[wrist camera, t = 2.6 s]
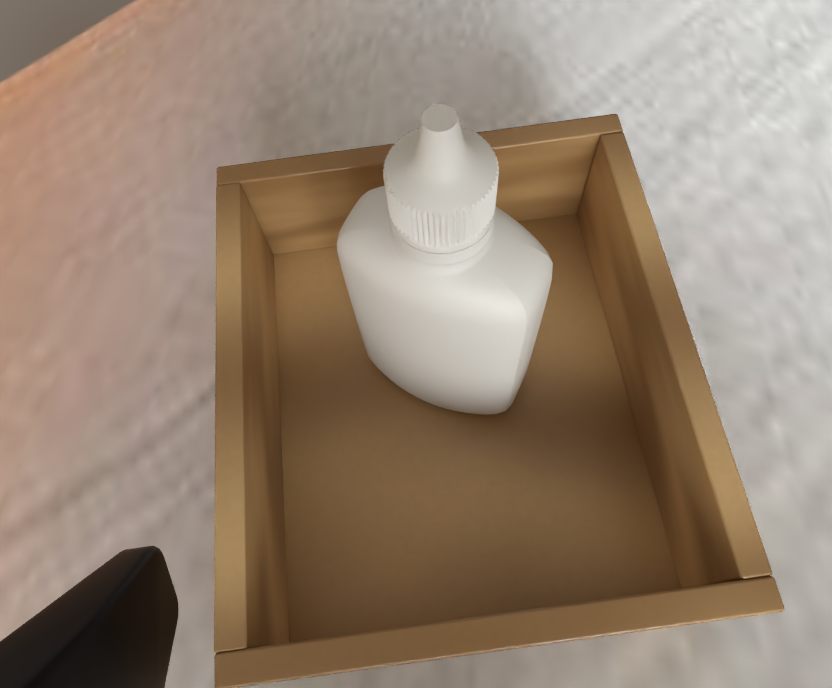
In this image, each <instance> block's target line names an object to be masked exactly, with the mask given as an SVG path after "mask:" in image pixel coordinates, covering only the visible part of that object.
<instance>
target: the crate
mask: <svg viewBox="0 0 832 688" xmlns="http://www.w3.org/2000/svg"><path fill="white" fill-rule="evenodd" d="M622 131H623V130H622V127H621V124H620V121H619V118H618V115H617V114H610V115H603V116H596V117H588V118H581V119H573V120H566V121H558V122H551V123H544V124H536V125H529V126H521V127H514V128H506V129H499V130H491V131H484V132H477V134H478V135H480V136H482V138H483V139H485V140H486V142H487V143H489V144H490V146H491V147H492V148H493V151H494V152H495V156H496V157H497V161H498V166H499V176H498V186H497V196H496V205H495V206H496V207H498V208H499V209H501V210H502V211H504V212H505V213H507V214H508V215H509V216H510V217H512V218H513V219H514V220H516V221H517V222H518V223H519V224H521V225H522V226H523V227H524V228H525V229H526V230H527V231H528V232H530V233H531V234H532V235H533V236H534V237H535V238H536V239H537V240H538V241H539V243H540V244H541V245H542V246H543V247H544V248H545V250H546V251H547V252H548V254H549V256H550V258H551V260H552V263H553V269H552V281H551V285H550V289H549V294H548V298H547V302H546V305H545V309H544V312H543V316H542V320H541V323H540V327H539V331H538V334H537V338H536V341H535V345H534V348H533V352H532V355H531V359H530V362H529V366H528V369H527V372H526V374H525V377H524V379H523V382H522V384H521V386H520V388H519V391H518V393H517V395H516V397H515V399H514V401H513V403H512V405H511V406H510V407H509V408H508V409H507V410H506V411H504V412H501V413H498V414H488V415H485V414H471V413H464V412H458V411H453V410H449V409H445V408H442V407H439V406H436V405H433V404H430V403H428V402H425V401H423V400H421V399H419V398H417V397H415V396H413V395H412V394H410V393H408V392H407V391H405V390H403V389H402V388H401V387H399V386H398V385H396V384H395V383H394V382H393V381H391V380H390V379H389V378H388V377H387V376H386V375H384V374H383V373H382V372H381V371H380V370H379V369H378V368H377V367H376V366H375V364H374V363H373V362H372V361H371V359H370V358H369V357H368V354H367V352H366V349H365V346H364V343H363V340H362V336H361V333H360V330H359V327H358V323H357V320H356V317H355V313H354V310H353V307H352V303H351V300H350V297H349V293H348V290H347V287H346V283H345V280H344V276H343V273H342V269H341V265H340V261H339V257H338V253H337V240H338V235H339V232H340V230H341V228H342V226H343V224H344V222H345V220H346V219H347V217H348V215H349V214H350V212H351V210H352V209H353V207H354V206H355V204H356V203H357V202H358V200H359V199H360V198H361V196H363V195H364V194H365V193H366V192H368V191H369V190H372V189H375V188H378V187H381V186H385V185H384V178H383V169H384V166H383V165H384V164H385V160H386V156H387V155H388V154H389V151H390V150H391V147H392V146H394V145H395V144H387V145H380V146H372V147H365V148H358V149H350V150H343V151H335V152H328V153H320V154H313V155H305V156H298V157H291V158H283V159H276V160H268V161H261V162H253V163H246V164H238V165H231V166H224V167H218V168H217V188H216V394H215V606H214V651H215V652H216V654H215V688H235V687H242V686H250V685H257V684H264V683H271V682H278V681H286V680H293V679H300V678H307V677H314V676H322V675H329V674H336V673H343V672H350V671H358V670H365V669H372V668H379V667H386V666H394V665H401V664H408V663H415V662H423V661H430V660H437V659H444V658H451V657H459V656H466V655H473V654H480V653H487V652H495V651H502V650H509V649H516V648H523V647H531V646H538V645H545V644H552V643H559V642H567V641H574V640H581V639H588V638H595V637H603V636H610V635H617V634H624V633H631V632H639V631H646V630H653V629H660V628H668V627H675V626H682V625H689V624H696V623H704V622H711V621H718V620H725V619H732V618H740V617H747V616H754V615H761V614H768V613H776V612H782V611H784V605H783V602H782V599H781V596H780V593H779V590H778V588H777V585H776V582H775V579H774V577H772V576H770V575H771V574H772V571H771V568H770V565H769V562H768V559H767V556H766V553H765V550H764V547H763V544H762V541H761V538H760V535H759V532H758V529H757V526H756V523H755V520H754V517H753V514H752V511H751V508H750V506H749V503H748V500H747V497H746V494H745V491H744V488H743V485H742V482H741V479H740V476H739V473H738V470H737V467H736V464H735V461H734V458H733V455H732V452H731V449H730V446H729V443H728V440H727V438H726V435H725V432H724V429H723V426H722V423H721V420H720V417H719V414H718V411H717V408H716V405H715V402H714V399H713V396H712V393H711V390H710V387H709V384H708V381H707V378H706V375H705V372H704V370H703V367H702V364H701V361H700V358H699V355H698V352H697V349H696V346H695V343H694V340H693V337H692V334H691V331H690V328H689V325H688V322H687V319H686V316H685V313H684V310H683V307H682V304H681V301H680V299H679V296H678V293H677V290H676V287H675V284H674V281H673V278H672V275H671V272H670V269H669V266H668V263H667V260H666V257H665V254H664V251H663V248H662V245H661V242H660V239H659V236H658V233H657V231H656V228H655V225H654V222H653V219H652V216H651V213H650V210H649V207H648V204H647V201H646V198H645V195H644V192H643V189H642V186H641V183H640V180H639V177H638V174H637V171H636V168H635V165H634V162H633V160H632V157H631V154H630V151H629V148H628V145H627V142H626V139H625V136H624V133H623V132H622Z"/></svg>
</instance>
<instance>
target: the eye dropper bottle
mask: <svg viewBox="0 0 832 688" xmlns="http://www.w3.org/2000/svg"><path fill="white" fill-rule="evenodd" d="M383 166H384V169H383V178H384V185H385V186H381V187H378V188H375V189H372V190H369V191H368V192H366V193H365V194H364V195H363V196H361V198H360V199H359V200H358V202H357V203H356V204H355V206H354V207H353V209H352V210H351V212H350V214H349V215H348V217H347V219H346V220H345V222H344V224H343V226H342V228H341V230H340V232H339V235H338V240H337V253H338V257H339V261H340V265H341V269H342V273H343V276H344V280H345V283H346V287H347V290H348V293H349V297H350V300H351V303H352V307H353V310H354V313H355V317H356V320H357V323H358V327H359V330H360V333H361V336H362V340H363V343H364V346H365V349H366V352H367V354H368V357H369V358H370V359H371V361H372V362H373V363H374V364H375V366H376V367H377V368H378V369H379V370H380V371H381V372H382V373H383V374H384V375H386V376H387V377H388V378H389V379H390V380H391V381H393V382H394V383H395V384H396V385H398V386H399V387H401V388H402V389H403V390H405V391H407V392H408V393H410V394H412V395H413V396H415V397H417V398H419V399H421V400H423V401H425V402H428V403H430V404H433V405H436V406H439V407H442V408H445V409H449V410H453V411H458V412H464V413H471V414H485V415H488V414H498V413H501V412H504V411H506V410H507V409H508V408H509V407H510V406H511V405H512V403H513V401H514V399H515V397H516V395H517V393H518V391H519V388H520V386H521V384H522V382H523V379H524V377H525V374H526V372H527V369H528V366H529V362H530V359H531V355H532V352H533V348H534V345H535V341H536V338H537V334H538V331H539V327H540V323H541V320H542V316H543V312H544V309H545V305H546V302H547V298H548V294H549V289H550V285H551V281H552V269H553V263H552V260H551V258H550V256H549V254H548V252H547V251H546V250H545V248H544V247H543V246H542V245H541V244H540V243H539V241H538V240H537V239H536V238H535V237H534V236H533V235H532V234H531V233H530V232H528V231H527V230H526V229H525V228H524V227H523V226H522V225H521V224H519V223H518V222H517V221H516V220H514V219H513V218H512V217H510V216H509V215H508V214H507V213H505V212H504V211H502V210H501V209H499V208H498V207H496V206H495V205H496V196H497V186H498V176H499V166H498V161H497V157H496V156H495V152H494V151H493V148H492V147H491V146H490V144H489V143H487V142H486V140H485V139H483V138H482V136H480V135H478V134H477V133H475V132H474V131H472V130H469V129H467V128H465V127H462V126H460V122H459V118H458V115H457V112H456V110H455V109H454V108H452V107H451V106H449V105H446V104H434V105H431V106H429V107H427V108H426V109H425V110H424V111H423V113H422V115H421V120H420V125H419V128H417V129H415V130H412V131H411V132H409V133H407V134H406V135H404V136H403V137H402V138H400V139H399V140H398V141H397V142H396V143H395V145H394V146H392V147H391V150H390V151H389V154H388V155H387V156H386V160H385V164H384V165H383Z"/></svg>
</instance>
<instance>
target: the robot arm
mask: <svg viewBox="0 0 832 688" xmlns="http://www.w3.org/2000/svg"><path fill="white" fill-rule="evenodd" d="M177 620H178V600H177V596H176V593H175V589H174V586H173V583H172V580H171V577H170V574H169V571H168V568H167V565H166V562H165V559H164V556H163V554H162V552H161V551H160V549H159V548H157V547H155V546H148V547H141V548H133V549H126V550H124V551H121V552H120V553H118V554H117V555H116V556H114V557H113V558H112V559H110V560H109V561H108V562H106V563H105V564H104V565H102V566H101V567H100V568H98V569H97V570H96V571H94V572H93V573H92V574H90V575H89V576H88V577H86V578H85V579H83V580H82V581H81V582H79V583H78V584H77V585H75V586H74V587H73V588H71V589H70V590H69V591H67V592H66V593H65V594H63V595H62V596H61V597H59V598H58V599H57V600H55V601H54V602H53V603H51V604H50V605H49V606H47V607H46V608H45V609H43V610H42V611H41V612H39V613H38V614H37V615H35V616H34V617H33V618H31V619H30V620H29V621H27V622H26V623H25V624H23V625H22V626H21V627H19V628H18V629H16V630H15V631H14V632H12V633H11V634H10V635H8V636H7V637H6V638H4V639H3V640H2V641H0V688H164V687H165V681H166V676H167V671H168V666H169V661H170V656H171V651H172V646H173V641H174V635H175V630H176V625H177Z"/></svg>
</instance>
